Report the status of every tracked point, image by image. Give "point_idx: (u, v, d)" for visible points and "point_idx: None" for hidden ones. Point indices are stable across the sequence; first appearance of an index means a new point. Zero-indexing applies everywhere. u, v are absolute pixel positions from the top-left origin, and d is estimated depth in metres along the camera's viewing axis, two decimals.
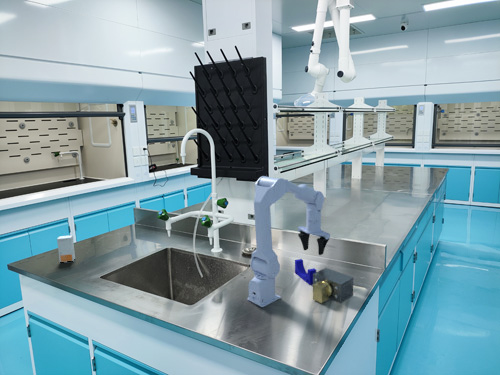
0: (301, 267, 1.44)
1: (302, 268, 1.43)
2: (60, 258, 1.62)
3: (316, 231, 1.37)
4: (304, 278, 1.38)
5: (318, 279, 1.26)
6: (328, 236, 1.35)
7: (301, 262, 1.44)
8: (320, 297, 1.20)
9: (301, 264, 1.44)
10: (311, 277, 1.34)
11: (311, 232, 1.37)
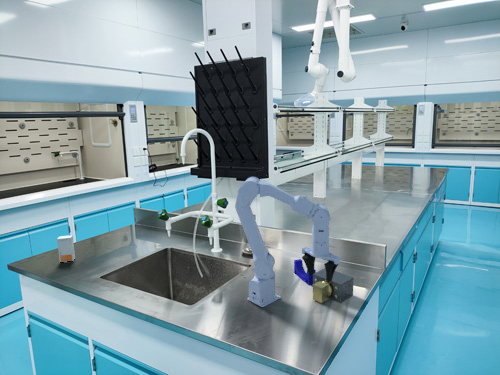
0: (300, 267, 1.43)
1: (301, 268, 1.43)
2: (60, 258, 1.62)
3: (323, 254, 1.16)
4: (303, 278, 1.38)
5: (318, 279, 1.26)
6: (338, 261, 1.14)
7: (300, 262, 1.44)
8: (320, 297, 1.20)
9: (300, 264, 1.44)
10: (310, 277, 1.34)
11: (318, 255, 1.16)
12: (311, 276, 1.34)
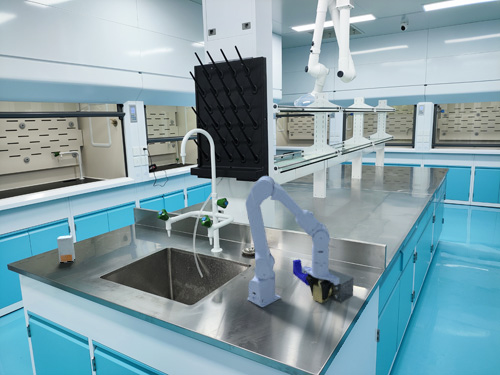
0: (299, 267, 1.43)
1: (300, 268, 1.43)
2: (60, 258, 1.62)
3: (323, 274, 1.17)
4: (302, 279, 1.38)
5: None
6: (337, 281, 1.15)
7: (299, 262, 1.44)
8: (320, 297, 1.20)
9: (299, 264, 1.44)
10: None
11: (317, 276, 1.18)
12: None
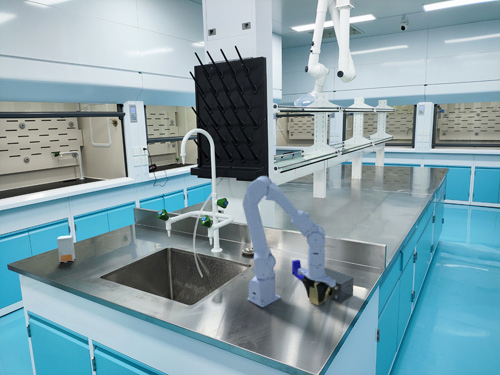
0: (298, 267, 1.43)
1: None
2: (60, 258, 1.62)
3: (319, 277, 1.16)
4: None
5: None
6: (333, 283, 1.14)
7: (298, 263, 1.43)
8: (316, 299, 1.19)
9: (298, 265, 1.43)
10: None
11: (313, 278, 1.16)
12: None
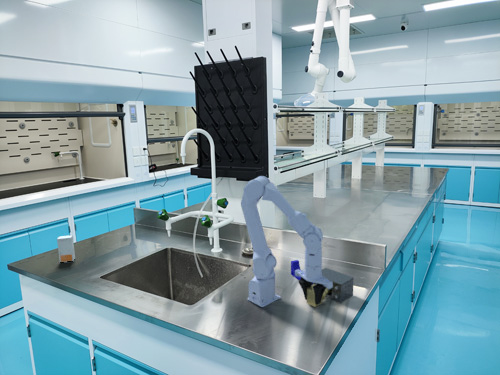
0: (297, 268, 1.43)
1: None
2: (60, 258, 1.62)
3: (316, 278, 1.15)
4: None
5: None
6: (330, 285, 1.12)
7: (297, 263, 1.43)
8: (314, 301, 1.18)
9: (297, 265, 1.43)
10: None
11: (310, 279, 1.15)
12: None
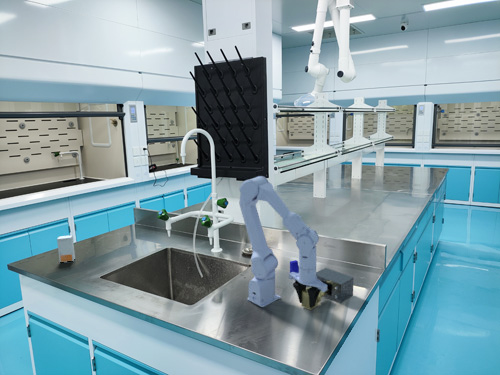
0: (296, 268, 1.42)
1: (297, 269, 1.42)
2: (60, 258, 1.62)
3: (310, 281, 1.13)
4: None
5: (318, 279, 1.26)
6: (325, 288, 1.10)
7: (296, 263, 1.43)
8: None
9: (296, 265, 1.43)
10: None
11: (304, 282, 1.13)
12: None
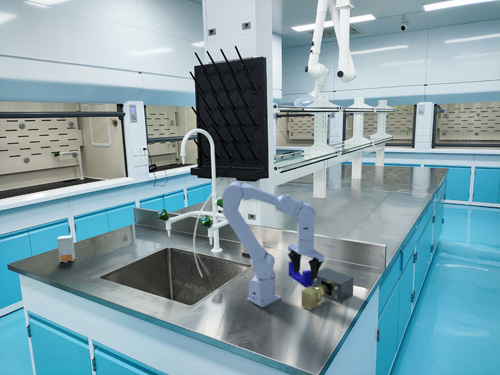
0: None
1: None
2: (60, 258, 1.62)
3: (308, 251, 1.17)
4: (299, 280, 1.36)
5: (318, 279, 1.26)
6: (322, 258, 1.15)
7: None
8: (309, 304, 1.16)
9: None
10: (306, 279, 1.33)
11: (302, 253, 1.17)
12: (307, 278, 1.33)
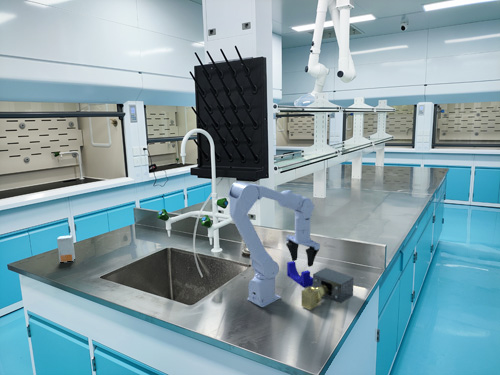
0: (293, 269, 1.42)
1: (295, 270, 1.41)
2: (60, 258, 1.62)
3: (305, 241, 1.27)
4: (297, 280, 1.36)
5: (318, 279, 1.26)
6: (318, 246, 1.24)
7: (293, 264, 1.42)
8: (309, 304, 1.16)
9: (293, 266, 1.42)
10: (305, 279, 1.33)
11: (300, 242, 1.27)
12: (306, 278, 1.33)
